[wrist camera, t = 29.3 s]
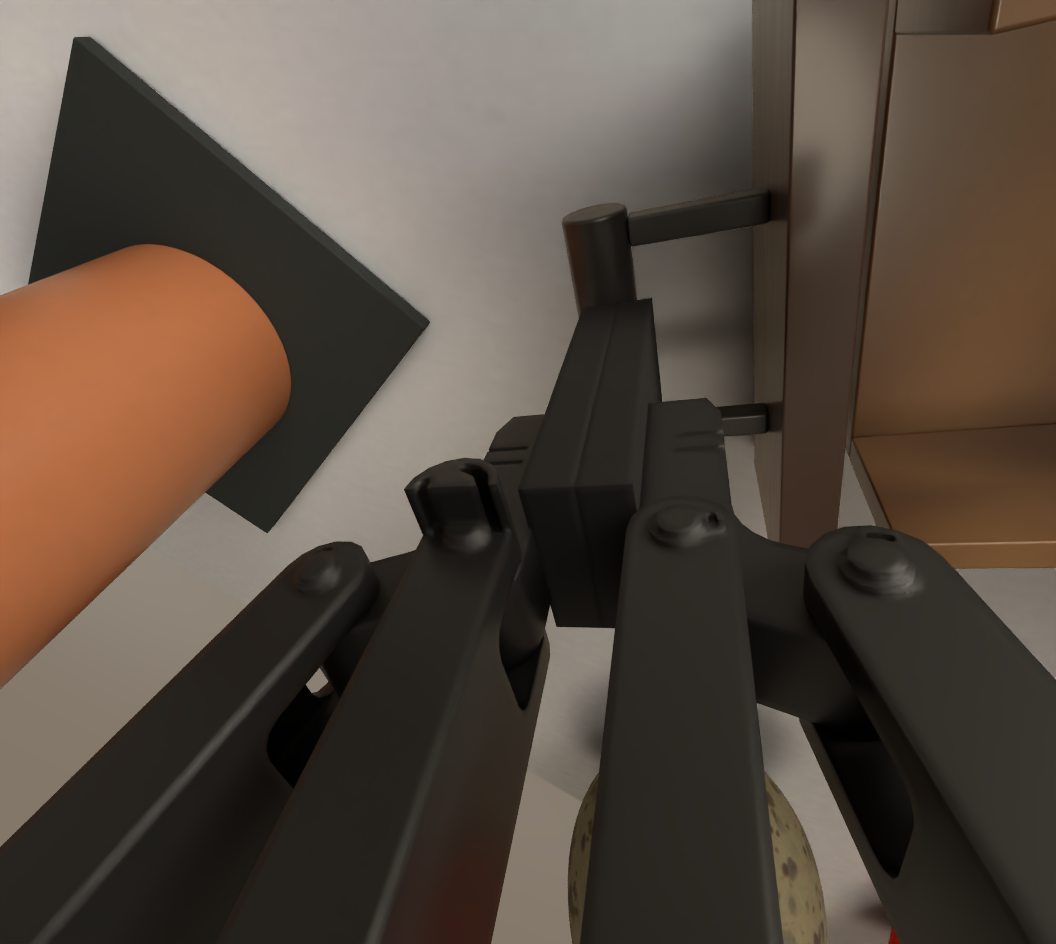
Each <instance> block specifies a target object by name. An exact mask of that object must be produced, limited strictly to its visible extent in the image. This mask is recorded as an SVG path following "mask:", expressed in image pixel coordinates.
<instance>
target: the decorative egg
mask: <svg viewBox="0 0 1056 944" xmlns="http://www.w3.org/2000/svg"><path fill="white" fill-rule="evenodd" d="M764 774H765V783H766V791H767V800H768V809H769V818H770V827H771V836H772V845H773V853H774V862H775V871H776V880H777V889H778V898H779V907H780V916H781V924H782V933H783V942H784V944H827V927H826V915H825V906H824V899H823V893H822V887H821V883H820V878H819V874H818V870H817V866H816V863H815V859H814V856H813V853H812V850H811V847H810V844H809V842H808V839H807V837H806V834H805V832H804V830H803V827H802V825H801V823H800V821H799V819H798V817H797V815H796V814H795V812H794V810H793V809H792V807H791V805H790V804H789V802H788V801H787V799H786V797H785V796H784V794H783V793H782V792H781V790H780V789H779V788H778V786H777V785H776V784H775V783H774V782H773V780H772V779H771V778H770V777H769V776H768V775H767V773H766V772H765V771H764ZM598 777H599V773H598V774H597V776H596V777H595V779H594V780H593V782H592V783H591V785H590V787H589V789H588V791H587V793H586V795H585V797H584V799H583V802H582V804H581V807H580V810H579V813H578V816H577V819H576V823H575V826H574V831H573V836H572V842H571V847H570V855H569V867H568V906H569V920H570V929H571V937H572V944H580V938H581V929H582V920H583V911H584V902H585V893H586V884H587V875H588V866H589V857H590V848H591V840H592V831H593V822H594V813H595V804H596V795H597V786H598Z"/></svg>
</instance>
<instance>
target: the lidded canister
mask: <svg viewBox="0 0 1056 944" xmlns="http://www.w3.org/2000/svg"><path fill="white" fill-rule="evenodd" d="M290 393H291V374H290V367H289V363H288V359H287V355H286V353H285V350H284V347H283V345H282V342H281V340H280V338H279V336H278V334H277V332H276V330H275V328H274V327H273V325H272V324H271V322H270V321H269V319H268V317H267V316H266V314H265V313H264V312H263V311H262V309H261V308H260V307H259V305H258V304H257V303H256V302H255V301H254V300H253V298H252V297H251V296H250V295H249V294H248V293H247V292H246V291H245V290H244V289H243V288H242V287H241V286H240V285H238V284H237V283H236V282H235V281H234V280H233V279H232V278H230V277H229V276H228V275H226V274H225V273H224V272H222V271H221V270H220V269H218V268H217V267H215V266H213V265H212V264H210V263H209V262H207V261H205V260H203V259H201V258H199V257H197V256H195V255H193V254H191V253H188V252H185V251H182V250H180V249H177V248H172V247H168V246H163V245H154V244H142V245H134V246H130V247H126V248H123V249H121V250H118V251H115V252H113V253H110V254H108V255H105V256H102V257H100V258H97V259H95V260H92V261H89V262H87V263H84V264H81V265H79V266H76V267H74V268H71V269H68V270H66V271H63V272H60V273H58V274H55V275H53V276H50V277H47V278H45V279H42V280H40V281H37V282H34V283H32V284H29V285H26V286H24V287H21V288H19V289H16V290H13V291H11V292H8V293H5V294H3V295H0V689H1V688H2V687H3V686H4V685H5V684H6V683H8V682H9V681H10V680H11V679H12V678H13V677H14V676H15V675H16V674H17V673H18V672H19V671H20V670H21V669H22V668H23V667H24V666H25V665H26V664H27V663H28V662H29V661H30V660H31V659H32V658H34V657H35V656H36V655H37V654H38V653H39V652H40V651H41V650H42V649H43V648H44V647H45V646H46V645H47V644H48V643H49V642H50V641H51V640H52V639H53V638H54V637H55V636H56V635H57V634H58V633H60V632H61V630H63V629H64V628H65V627H66V626H67V625H68V624H69V623H70V622H71V621H72V620H73V619H74V618H75V617H76V616H77V615H78V614H79V613H80V612H81V611H82V610H83V609H84V608H85V607H87V606H88V605H89V603H90V602H91V601H93V600H94V599H95V598H96V597H97V596H98V595H99V594H100V593H101V592H102V591H103V590H104V589H105V588H106V587H107V586H108V585H109V584H110V583H111V582H113V580H115V579H116V578H117V577H118V576H119V575H120V574H121V573H122V572H123V571H124V570H125V569H126V568H127V567H128V566H129V565H130V564H131V563H132V562H133V561H134V560H135V559H136V558H137V557H139V556H140V554H142V553H143V552H144V551H145V550H146V549H147V548H148V547H149V546H150V545H151V544H152V543H153V542H154V541H155V540H156V539H157V538H158V537H159V536H160V535H161V534H162V533H163V532H165V531H166V530H167V529H168V528H169V527H170V526H171V525H172V524H173V523H174V522H175V521H176V520H177V519H178V518H179V517H180V516H181V515H182V514H183V513H184V512H185V511H186V510H187V509H188V508H189V507H190V506H192V505H193V504H194V503H195V502H196V501H197V500H198V499H199V498H200V497H201V496H202V495H203V494H204V493H205V492H206V491H207V490H208V489H209V488H210V487H211V486H212V485H213V484H214V483H215V482H216V481H218V480H219V479H220V478H221V477H222V476H223V475H224V474H225V473H226V472H227V471H228V470H229V469H230V468H231V467H232V466H233V465H234V464H235V463H236V462H237V461H238V460H239V459H240V458H241V457H242V456H244V455H245V454H246V453H247V452H248V451H249V450H250V449H251V448H252V447H253V446H254V445H255V444H256V443H257V442H258V441H259V440H260V439H261V438H262V437H263V436H264V435H265V434H266V433H267V432H268V431H269V430H271V429H272V428H273V427H274V426H275V425H276V424H277V422H278V421H279V420H280V419H281V418H282V416H283V414H284V413H285V411H286V409H287V406H288V403H289V399H290Z"/></svg>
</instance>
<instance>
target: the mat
mask: <svg viewBox="0 0 1056 944" xmlns="http://www.w3.org/2000/svg"><path fill="white" fill-rule="evenodd" d="M142 244H154V245H163V246H168V247H172V248H177V249H180V250H182V251H185V252H188V253H191V254H193V255H195V256H197V257H199V258H201V259H203V260H205V261H207V262H209V263H210V264H212V265H213V266H215V267H217V268H218V269H220V270H221V271H222V272H224V273H225V274H226V275H228V276H229V277H230V278H232V279H233V280H234V281H235V282H236V283H237V284H238V285H240V286H241V287H242V288H243V289H244V290H245V291H246V292H247V293H248V294H249V295H250V296H251V297H252V298H253V300H254V301H255V302H256V303H257V304H258V305H259V307H260V308H261V309H262V311H263V312H264V313H265V314H266V316H267V317H268V319H269V321H270V322H271V324H272V325H273V327H274V328H275V330H276V332H277V334H278V336H279V338H280V340H281V342H282V345H283V347H284V350H285V353H286V355H287V359H288V363H289V367H290V374H291V393H290V399H289V403H288V406H287V409H286V411H285V413H284V414H283V416H282V418H281V419H280V420H279V421H278V422H277V424H276V425H275V426H274V427H273V428H272V429H271V430H269V431H268V432H267V433H266V434H265V435H264V436H263V437H262V438H261V439H260V440H259V441H258V442H257V443H256V444H255V445H254V446H253V447H252V448H251V449H250V450H249V451H248V452H247V453H246V454H245V455H244V456H242V457H241V458H240V459H239V460H238V461H237V462H236V463H235V464H234V465H233V466H232V467H231V468H230V469H229V470H228V471H227V472H226V473H225V474H224V475H223V476H222V477H221V478H220V479H219V480H218V481H216V482H215V483H214V484H213V485H212V486H211V487H210V488H209V489H208V490H207V491H206V492H205V493H207V494H208V495H210V496H212V497H213V498H215V499H216V500H218V501H219V502H221V503H222V504H224V505H225V506H227V507H228V508H230V509H231V510H233V511H234V512H236V513H237V514H239V515H240V516H242V517H243V518H245V519H246V520H248V521H249V522H251V523H252V524H254V525H255V526H257V527H258V528H260V529H261V530H263V531H264V532H266V533H268V532H269V531H270V530H271V529H272V527H273V526H274V525H275V524H276V522H277V521H278V520H279V518H280V517H281V516H282V515H283V513H284V512H285V511H286V509H287V508H288V507H289V505H290V504H291V503H292V502H293V500H294V499H295V498H296V496H297V495H298V494H299V492H300V491H301V490H302V488H303V487H304V486H305V485H306V483H307V482H308V481H309V479H310V478H311V477H312V475H313V474H314V473H315V472H316V470H317V469H318V468H319V466H320V465H321V464H322V462H323V461H324V460H325V459H326V457H327V456H328V455H329V453H330V452H331V451H332V449H333V448H334V447H335V446H336V444H337V443H338V442H339V440H340V439H341V438H342V436H343V435H344V434H345V433H346V431H347V430H348V429H349V427H350V426H351V425H352V423H353V422H354V421H355V420H356V418H357V417H358V416H359V414H360V413H361V412H362V410H363V409H364V408H365V407H366V405H367V404H368V403H369V401H370V400H371V399H372V397H373V396H374V395H375V394H376V392H377V391H378V390H379V388H380V387H381V386H382V384H383V383H384V382H385V381H386V379H387V378H388V377H389V375H390V374H391V373H392V371H393V370H394V369H395V368H396V366H397V365H398V364H399V362H400V361H401V360H402V358H403V357H404V356H405V355H406V353H407V352H408V351H409V349H410V348H411V347H412V345H413V344H414V343H415V341H416V340H417V339H418V338H419V336H420V335H421V334H422V332H423V331H424V330H425V328H426V327H427V326H428V325H429V323H430V322H429V321H428V320H427V319H426V318H425V317H424V316H422V315H421V314H420V313H419V312H418V311H417V310H415V309H414V308H413V307H412V306H411V305H409V304H408V303H407V302H406V301H405V300H403V299H402V298H401V297H400V296H399V295H397V294H396V293H395V292H394V291H393V290H391V289H390V288H389V287H388V286H387V285H386V284H384V283H383V282H382V281H381V280H380V279H378V278H377V277H376V276H375V275H374V274H372V273H371V272H370V271H369V270H368V269H366V268H365V267H364V266H363V265H362V264H360V263H359V262H358V261H357V260H356V259H354V258H353V257H352V256H351V255H350V254H349V253H347V252H346V251H345V250H344V249H343V248H341V247H340V246H339V245H338V244H337V243H335V242H334V241H333V240H332V239H331V238H329V237H328V236H327V235H326V234H325V233H323V232H322V231H321V230H320V229H319V228H317V227H316V226H315V225H314V224H313V223H312V222H310V221H309V220H308V219H307V218H306V217H304V216H303V215H302V214H301V213H300V212H298V211H297V210H296V209H295V208H294V207H292V206H291V205H290V204H289V203H288V202H286V201H285V200H284V199H283V198H282V197H281V196H279V195H278V194H277V193H276V192H275V191H273V190H272V189H271V188H270V187H269V186H267V185H266V184H265V183H264V182H263V181H261V180H260V179H259V178H258V177H257V176H255V175H254V174H253V173H252V172H251V171H249V170H248V169H247V168H246V167H245V166H244V165H242V164H241V163H240V162H239V161H238V160H236V159H235V158H234V157H233V156H232V155H230V154H229V153H228V152H227V151H226V150H224V149H223V148H222V147H221V146H220V145H218V144H217V143H216V142H215V141H214V140H212V139H211V138H210V137H209V136H208V135H207V134H205V133H204V132H203V131H202V130H201V129H199V128H198V127H197V126H196V125H195V124H193V123H192V122H191V121H190V120H189V119H187V118H186V117H185V116H184V115H183V114H181V113H180V112H179V111H178V110H177V109H176V108H174V107H173V106H172V105H171V104H170V103H168V102H167V101H166V100H165V99H164V98H162V97H161V96H160V95H159V94H158V93H156V92H155V91H154V90H153V89H152V88H150V87H149V86H148V85H147V84H146V83H144V82H143V81H142V80H141V79H140V78H139V77H137V76H136V75H135V74H134V73H133V72H131V71H130V70H129V69H128V68H127V67H125V66H124V65H123V64H122V63H121V62H119V61H118V60H117V59H116V58H115V57H113V56H112V55H111V54H110V53H109V52H107V51H106V50H105V49H104V48H103V47H102V46H100V45H99V44H98V43H97V42H96V41H94V40H93V39H92V38H90V37H74V39H73V44H72V50H71V55H70V60H69V66H68V71H67V77H66V82H65V88H64V93H63V98H62V104H61V109H60V115H59V120H58V125H57V131H56V136H55V142H54V147H53V153H52V158H51V163H50V169H49V174H48V180H47V185H46V191H45V196H44V201H43V207H42V212H41V218H40V223H39V229H38V234H37V239H36V245H35V250H34V256H33V261H32V267H31V272H30V277H29V283H28V285H29V284H32V283H34V282H37V281H40V280H42V279H45V278H47V277H50V276H53V275H55V274H58V273H60V272H63V271H66V270H68V269H71V268H74V267H76V266H79V265H81V264H84V263H87V262H89V261H92V260H95V259H97V258H100V257H102V256H105V255H108V254H110V253H113V252H115V251H118V250H121V249H123V248H126V247H130V246H134V245H142Z"/></svg>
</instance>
